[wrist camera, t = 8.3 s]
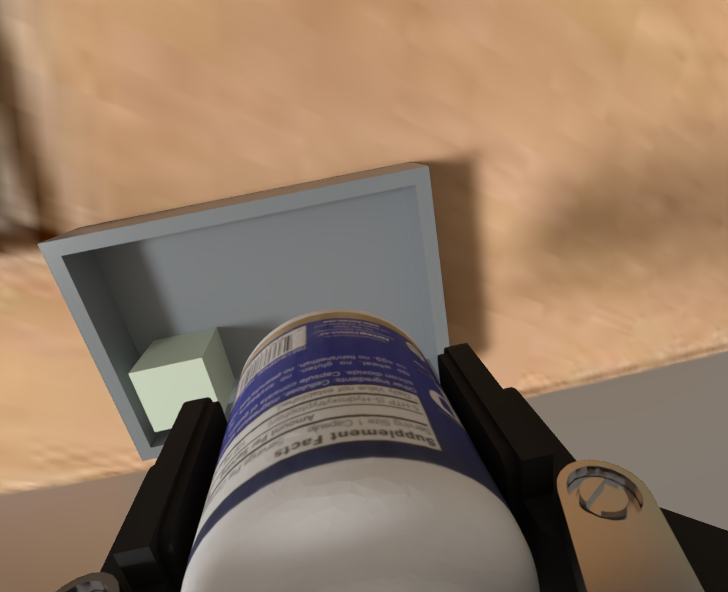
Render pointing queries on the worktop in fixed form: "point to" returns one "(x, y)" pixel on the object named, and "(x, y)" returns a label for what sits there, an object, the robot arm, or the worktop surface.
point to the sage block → (181, 375)
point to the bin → (252, 273)
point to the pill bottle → (351, 474)
